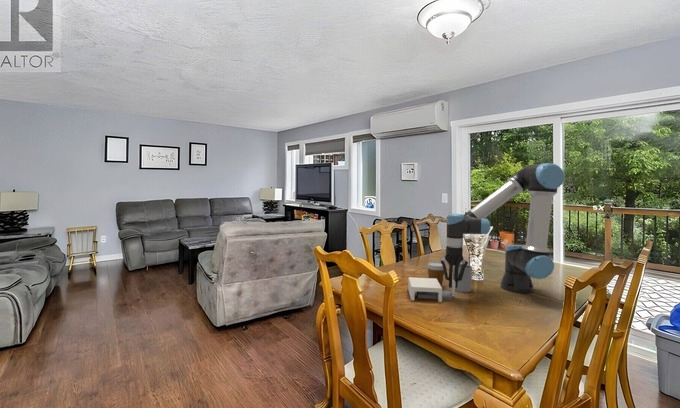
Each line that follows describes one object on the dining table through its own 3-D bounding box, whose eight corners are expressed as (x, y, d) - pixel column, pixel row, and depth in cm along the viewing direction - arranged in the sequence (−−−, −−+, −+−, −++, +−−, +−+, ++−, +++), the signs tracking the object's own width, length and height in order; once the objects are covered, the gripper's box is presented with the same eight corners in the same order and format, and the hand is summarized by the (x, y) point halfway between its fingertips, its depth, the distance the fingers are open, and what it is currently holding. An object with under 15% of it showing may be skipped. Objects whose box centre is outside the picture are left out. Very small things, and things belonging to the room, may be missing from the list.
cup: (469, 293, 160) (470, 269, 159) (450, 289, 165) (451, 266, 164) (472, 287, 168) (473, 265, 167) (454, 284, 173) (455, 263, 172)
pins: (415, 292, 160) (415, 284, 160) (417, 297, 153) (417, 288, 153) (411, 292, 160) (411, 283, 160) (413, 297, 153) (413, 288, 153)
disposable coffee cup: (446, 289, 164) (446, 267, 164) (426, 288, 166) (427, 266, 165) (443, 284, 174) (444, 262, 173) (425, 282, 176) (426, 261, 175)
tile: (449, 294, 159) (449, 291, 159) (452, 301, 151) (453, 296, 151) (416, 293, 161) (416, 289, 160) (418, 299, 153) (418, 295, 152)
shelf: (436, 290, 163) (436, 278, 162) (441, 302, 148) (442, 288, 147) (408, 289, 164) (408, 277, 164) (411, 300, 150) (411, 286, 149)
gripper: (466, 245, 156) (464, 292, 157) (439, 244, 157) (437, 290, 159) (470, 248, 148) (468, 297, 150) (441, 247, 150) (440, 296, 152)
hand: (452, 294), depth 154 cm, fingers closed
